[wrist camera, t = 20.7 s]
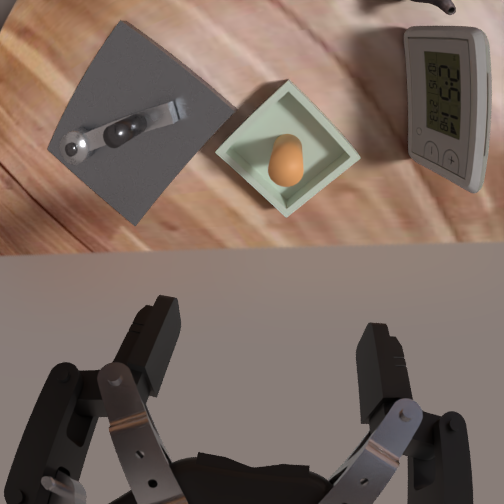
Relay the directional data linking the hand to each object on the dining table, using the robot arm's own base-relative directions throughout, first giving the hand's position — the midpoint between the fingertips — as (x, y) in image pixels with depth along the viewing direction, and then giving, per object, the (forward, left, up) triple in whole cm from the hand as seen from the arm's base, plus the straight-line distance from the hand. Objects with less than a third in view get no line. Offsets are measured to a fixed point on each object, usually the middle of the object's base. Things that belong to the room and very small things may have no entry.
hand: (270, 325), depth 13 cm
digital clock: (+6, +17, -26) cm, 32 cm away
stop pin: (0, 0, -26) cm, 26 cm away
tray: (0, 0, -26) cm, 26 cm away
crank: (-17, -12, -24) cm, 32 cm away
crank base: (-16, -12, -26) cm, 33 cm away
